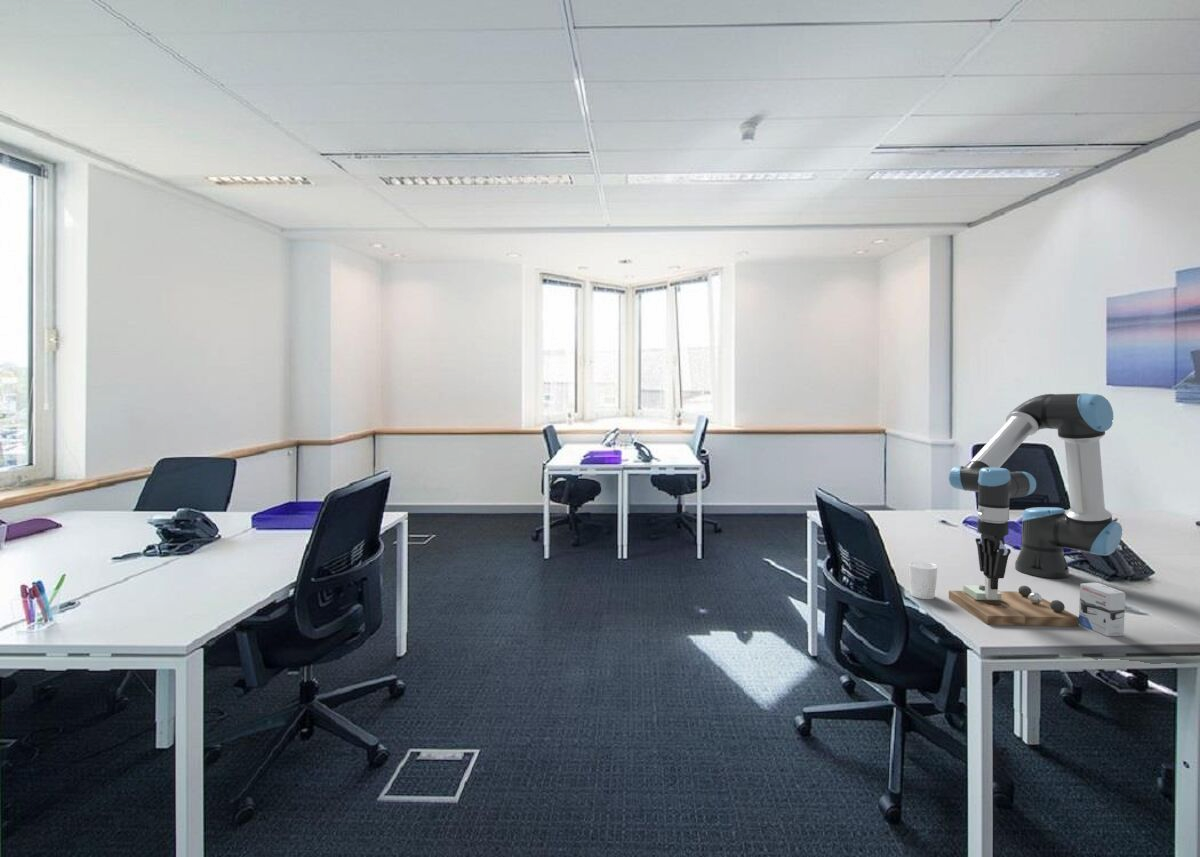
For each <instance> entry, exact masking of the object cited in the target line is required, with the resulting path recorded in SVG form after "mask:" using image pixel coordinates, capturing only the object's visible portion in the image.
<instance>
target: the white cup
mask: <svg viewBox="0 0 1200 857" xmlns="http://www.w3.org/2000/svg"><path fill="white" fill-rule="evenodd" d="M908 574H909V575H908V579H909V591H910V592H909V593H910V595H911V596H912V597H913V598H916V599H920V600H921V599H922V600H934V599H935V597H936V589H937V588H936V587H937V578H938V566H937V564H934V563H931V562H925V561H910V562H908Z"/></svg>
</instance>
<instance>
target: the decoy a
mask: <svg viewBox="0 0 1200 857" xmlns="http://www.w3.org/2000/svg"><path fill="white" fill-rule="evenodd" d="M1017 592H1019V593H1020V594H1021V595H1022V596H1026V597H1027V596H1029V594H1030V593H1033V592H1032V589H1031V588H1030V587H1029V586H1027V585H1021V586H1019V587H1018V590H1017Z"/></svg>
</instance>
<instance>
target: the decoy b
mask: <svg viewBox="0 0 1200 857" xmlns="http://www.w3.org/2000/svg"><path fill="white" fill-rule="evenodd" d="M1050 602H1051V603H1050V607H1051V609H1052V610H1054V611H1056V612H1062V611H1063V610H1065V608H1066V607H1065V604H1064V603H1063V601H1060V600H1058V599H1054V600H1052V601H1050Z"/></svg>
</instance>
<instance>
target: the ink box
mask: <svg viewBox="0 0 1200 857" xmlns="http://www.w3.org/2000/svg"><path fill="white" fill-rule="evenodd" d="M1078 606H1079V607H1078V608H1079V610H1078V617H1079V626H1083V627H1085V628H1087V629H1090V630H1092V631H1093V632H1097V633H1099V634H1101V635H1103V636H1106V637H1123V636H1124V635H1125V633H1124V632H1125V614H1126V593H1125V592H1124V591H1121V590H1120V589H1116V588H1114V587H1112V586H1111V587H1110V586H1109V585H1105V584H1103V583H1100V582H1083V583H1082V582H1081V583H1080V585H1079V605H1078Z"/></svg>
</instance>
